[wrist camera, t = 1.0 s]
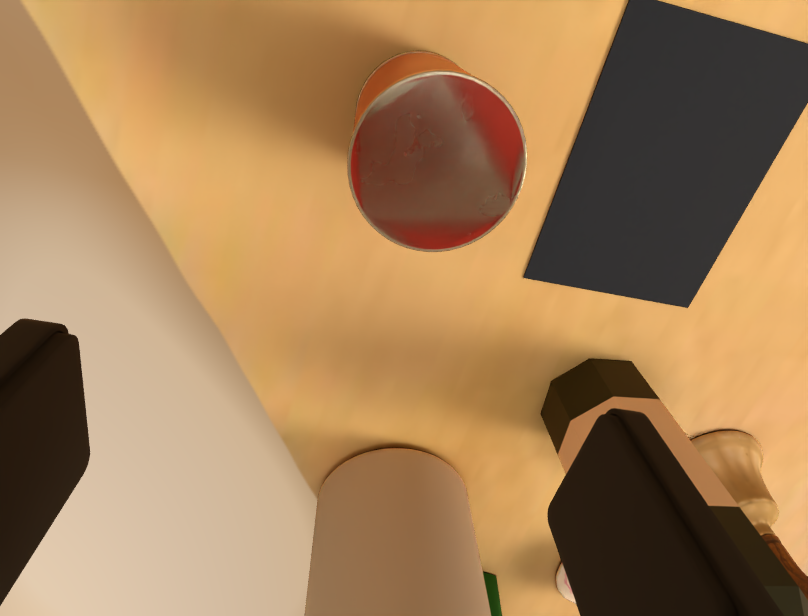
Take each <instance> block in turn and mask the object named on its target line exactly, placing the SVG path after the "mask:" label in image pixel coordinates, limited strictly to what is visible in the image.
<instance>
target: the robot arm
mask: <svg viewBox="0 0 808 616" xmlns="http://www.w3.org/2000/svg"><path fill="white" fill-rule="evenodd" d="M89 457H90V446H89V437H88V427H87V417H86V408H85V399H84V388H83V379H82V370H81V360H80V350H79V342H78V338H77V337H76V336H75V335H71V334H69V333H68V330H67V328H66V326H65V325H62V324H58V323H52V322H44V321H38V320H32V319H20V320H18V321H17V322H15V323H14V324H13V325H12V326H11V327H9V328H8V329H7V330H6V331H5V332H3V333H2V334H1V335H0V605H1V604H2V602H3V601H4V599H5V597H6V596H7V594H8V592H9V591H10V590H11V588H12V586H13V585H14V583H15V582H16V580H17V579H18V577H19V575H20V574H21V572H22V570H23V569H24V567H25V566H26V564H27V563H28V561H29V559H30V558H31V556H32V555H33V553H34V552H35V550H36V548H37V547H38V545H39V544H40V542H41V540H42V539H43V537H44V536H45V534H46V533H47V531H48V529H49V528H50V526H51V525H52V523H53V522H54V520H55V518H56V517H57V515H58V514H59V512H60V510H61V509H62V507H63V506H64V504H65V503H66V501H67V499H68V498H69V496H70V495H71V493H72V491H73V490H74V488H75V487H76V485H77V484H78V482H79V480H80V478H81V477H82V476H83V474H84V472H85V470H86V468H87V465H88V461H89ZM548 523H549V526H550V529H551V532H552V535H553V538H554V541H555V544H556V546H557V549H558V552H559V555H560V558H561V561H562V564H563V567H564V569H565V572H566V575H567V578H568V581H569V584H570V587H571V590H572V593H573V595H574V598H575V601H576V604H577V607H578V610H579V613H580V616H784V615H783V613H782V612H781V610H780V609H779V607H778V606H777V604H776V603H775V602H774V600H773V599H772V597H771V596H770V594H769V593H768V591H767V590H766V588H765V587H764V585H763V584H762V583H761V581H760V580H759V578H758V577H757V575H756V574H755V572H754V571H753V569H752V568H751V567H750V565H749V564H748V562H747V561H746V559H745V558H744V556H743V555H742V553H741V552H740V551H739V549H738V548H737V546H736V545H735V543H734V542H733V540H732V539H731V537H730V536H729V535H728V533H727V532H726V530H725V529H724V527H723V526H722V524H721V523H720V521H719V520H718V519H717V517H716V516H715V514H714V513H713V511H712V510H711V508H710V507H709V505H708V504H707V503H706V501H705V500H704V498H703V497H702V495H701V494H700V492H699V491H698V489H697V488H696V487H695V485H694V484H693V482H692V481H691V479H690V478H689V476H688V475H687V473H686V472H685V471H684V469H683V468H682V466H681V465H680V463H679V462H678V460H677V459H676V457H675V456H674V455H673V453H672V452H671V450H670V449H669V447H668V446H667V444H666V443H665V441H664V440H663V439H662V437H661V436H660V434H659V433H658V431H657V430H656V428H655V427H654V425H653V424H652V423H651V421H650V420H649V418H648V417H647V416H646V415H645V414H644V413H642V412H637V411H631V410H624V409H618V408H612V409H610V410H608V411H607V412H606V414H602V415H600V416H599V417H598V418H597V420H596V421H595V423H594V425H593V427H592V429H591V430H590V432H589V434H588V436H587V438H586V440H585V441H584V443H583V445H582V447H581V449H580V450H579V452H578V454H577V456H576V458H575V459H574V461H573V463H572V465H571V467H570V468H569V470H568V472H567V474H566V476H565V477H564V479H563V481H562V483H561V485H560V487H559V488H558V490H557V492H556V494H555V496H554V497H553V499H552V501H551V503H550V505H549V508H548Z"/></svg>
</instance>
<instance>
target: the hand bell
mask: <svg viewBox="0 0 808 616" xmlns="http://www.w3.org/2000/svg"><path fill="white" fill-rule="evenodd" d="M691 442H692V444H693V445H694V446H695V448H696V449H697V450H698V452H699V453H700V454H701V456H702V457H703V458H704V460H705V461H706V463H707V464H708V465H709V467H710V468H711V469H712V471H713V472H714V473H715V475H716V476H717V477H718V479H719V480H720V481H721V483H722V484H723V485H724V487H725V488H726V489H727V491H728V492H729V493H730V495H731V496H732V498H733V499H734V500H735V502H736V503H737V504H738V506H739V507H740V508H741V510H742V511H743V512H744V514H745V515H746V516H747V518H748V519H749V520H750V522H751V523H752V524H753V526H754V527H755V529H756V530H757V531H758V533H759V534H760V535H761V537H762V538H763V539H764V541H765V542H766V543H767V545H768V546H769V547H770V549H771V550H772V551H773V553H774V554H775V555H776V557H777V558H778V559H779V561H780V562H781V564H782V565H783V566H784V568H785V569H786V570H787V572H788V573H789V574H790V576H791V577H792V578H793V580H794V581H795V582H796V584H797V585H798V586H799V588H800V589H801V591H802V592H803V594H804V595H805V597H806V598H807V600H808V576H806V575H805V574H804V573H803V572H802V571H801V569H800V568H799V567H798V566H797V564H796V563H795V562H794V560H793V559H792V558H791V556H790V555H789V553H788V552H787V550H786V549H785V547H784V546H783V545H782V544H781V541H780V540H779V538H778V537H777V536H775V534H774V532H773V531H772V530H771V528H770V527H771V526H772V525H773V524H774V522H775V521H776V520H777V518H778V514H779V510H778V506H777V504H776V503H775V501H774V500H773V498H772V497H771V495H770V493H769V491H768V490H767V488H766V486H765V484H764V481H763V479H762V475H761V467H762V463H763V451H762V448H761V445H760V444H759V442H758V441H757V440H756V439H755V438H754V437H752V436H751V435H749V434H746V433H744V432H740V431H719V432H713V433H709V434H705V435H702V436H700V437H697V438H695V439H692V440H691Z"/></svg>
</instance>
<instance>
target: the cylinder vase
mask: <svg viewBox="0 0 808 616" xmlns="http://www.w3.org/2000/svg"><path fill="white" fill-rule="evenodd" d="M305 616H491V612H490V607H489V602H488V596H487V591H486V586H485V581H484V576H483V571H482V566H481V561H480V556H479V551H478V545H477V540H476V535H475V530H474V525H473V520H472V515H471V510H470V505H469V500H468V494H467V490H466V487H465V484H464V482H463V480H462V479H461V477H460V476H459V474H458V473H457V472H456V471H455V470H454V469H453V468H452V467H451V466H450V465H449V464H448V463H446V462H445V461H443V460H441V459H440V458H438V457H436V456H434V455H431V454H428V453H425V452H422V451H418V450H413V449H405V448H387V449H379V450H374V451H370V452H366V453H363V454H360V455H358V456H355V457H353V458H351V459H349V460H347V461H346V462H344V463H343V464H341V465H340V466H339V467H337V468H336V469H335V470H334V471H333V472H332V473H331V474H330V475H329V476H328V478H327V479H326V480H325V482H324V483H323V485H322V487H321V490H320V492H319V496H318V502H317V510H316V519H315V528H314V537H313V546H312V554H311V563H310V573H309V581H308V590H307V599H306V607H305Z"/></svg>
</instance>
